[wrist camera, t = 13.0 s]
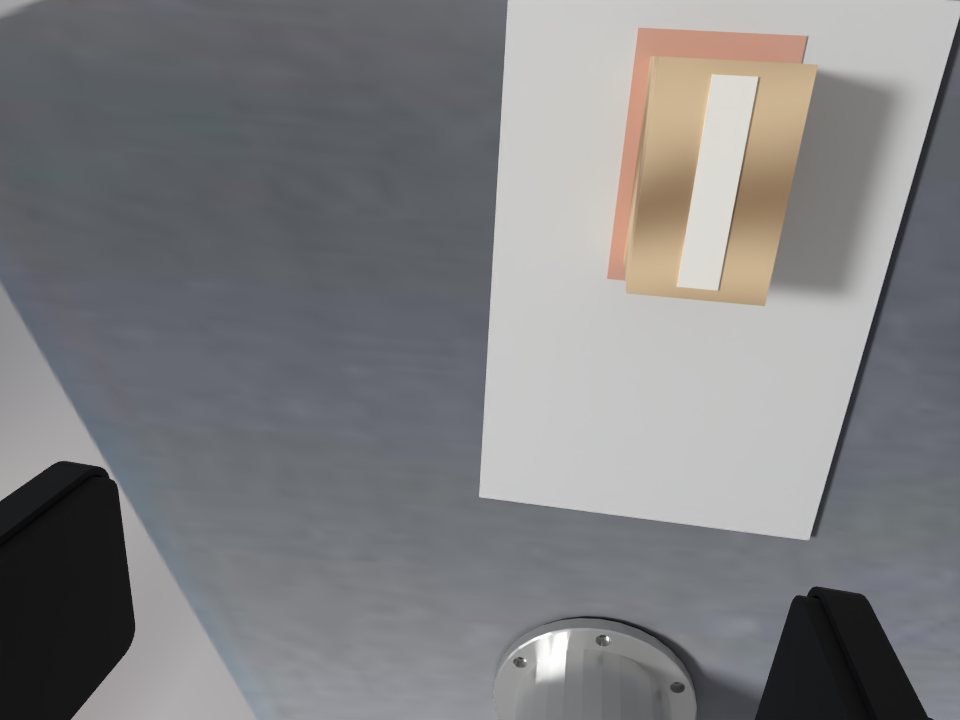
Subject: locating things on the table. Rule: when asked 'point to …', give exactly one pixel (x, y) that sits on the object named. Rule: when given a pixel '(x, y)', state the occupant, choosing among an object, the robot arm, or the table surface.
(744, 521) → the mat
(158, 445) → the table surface
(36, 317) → the table surface
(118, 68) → the table surface
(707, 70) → the card box
